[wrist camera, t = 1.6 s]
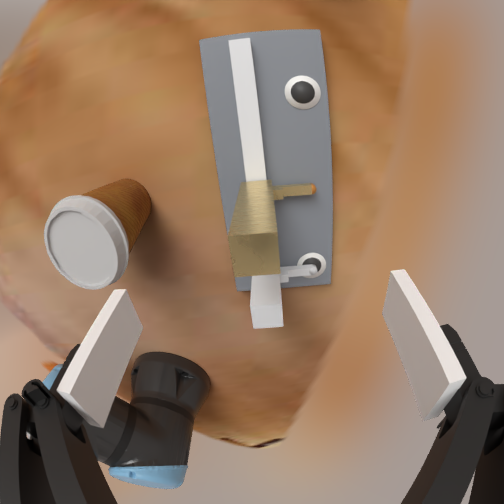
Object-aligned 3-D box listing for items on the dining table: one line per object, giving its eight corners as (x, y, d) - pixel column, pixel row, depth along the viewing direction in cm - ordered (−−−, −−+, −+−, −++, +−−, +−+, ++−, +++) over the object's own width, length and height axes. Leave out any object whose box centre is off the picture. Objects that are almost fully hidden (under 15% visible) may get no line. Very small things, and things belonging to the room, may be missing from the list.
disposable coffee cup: (97, 161, 30) (36, 194, 19) (168, 172, 31) (123, 211, 20) (97, 229, 34) (48, 279, 24) (160, 244, 35) (124, 304, 25)
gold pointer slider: (315, 200, 30) (348, 267, 18) (245, 206, 30) (234, 277, 19) (314, 173, 28) (350, 226, 17) (241, 179, 29) (227, 236, 17)
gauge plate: (328, 277, 37) (345, 330, 28) (238, 284, 38) (231, 339, 29) (317, 32, 22) (341, 4, 14) (202, 42, 23) (175, 18, 15)
